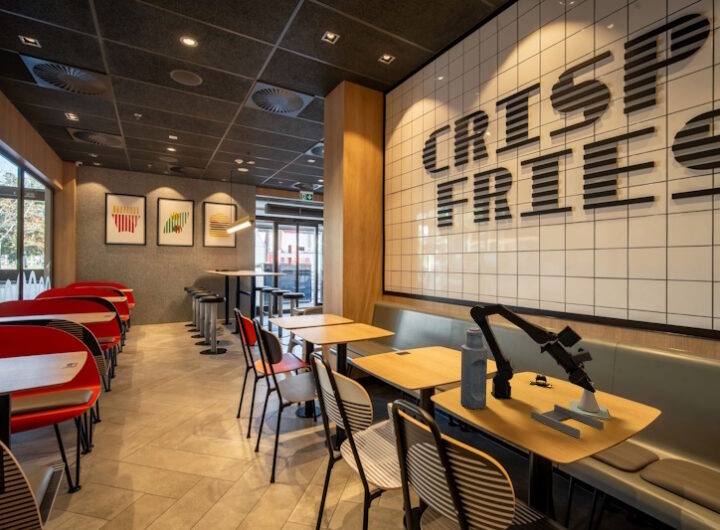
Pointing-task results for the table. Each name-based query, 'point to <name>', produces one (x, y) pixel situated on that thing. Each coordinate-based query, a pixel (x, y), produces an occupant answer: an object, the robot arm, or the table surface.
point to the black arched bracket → (541, 378)
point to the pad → (600, 414)
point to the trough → (562, 414)
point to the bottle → (473, 370)
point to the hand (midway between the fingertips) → (593, 388)
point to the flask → (588, 401)
